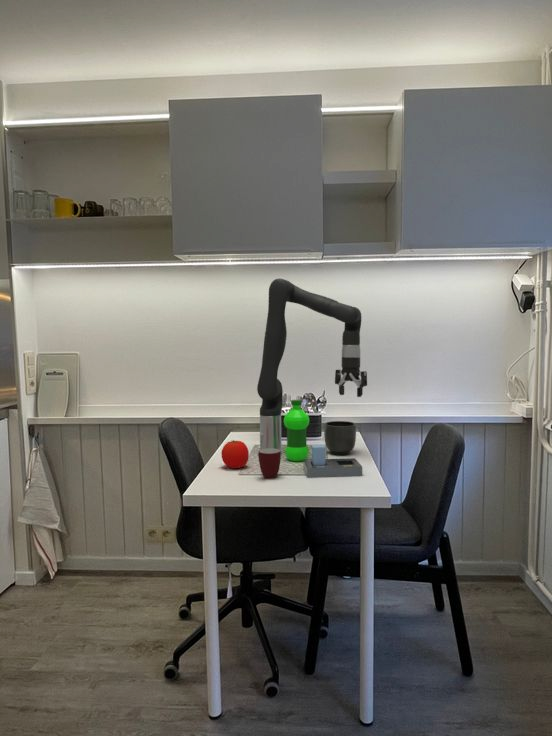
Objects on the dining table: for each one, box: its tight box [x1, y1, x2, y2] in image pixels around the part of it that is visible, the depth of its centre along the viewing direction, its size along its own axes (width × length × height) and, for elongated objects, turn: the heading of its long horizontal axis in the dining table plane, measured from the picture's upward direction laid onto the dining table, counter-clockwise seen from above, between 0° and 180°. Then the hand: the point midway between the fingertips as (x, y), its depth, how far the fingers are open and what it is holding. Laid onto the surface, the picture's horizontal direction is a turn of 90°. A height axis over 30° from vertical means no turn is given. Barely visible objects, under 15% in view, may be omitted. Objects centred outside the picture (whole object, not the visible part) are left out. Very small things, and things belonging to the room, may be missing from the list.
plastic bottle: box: [283, 399, 310, 462], centre depth 203 cm, size 10×10×25 cm
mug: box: [258, 448, 282, 480], centre depth 181 cm, size 10×8×10 cm
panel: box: [302, 457, 363, 479], centre depth 185 cm, size 20×12×4 cm, turn 94°
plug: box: [311, 444, 327, 466], centre depth 184 cm, size 4×4×10 cm
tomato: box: [220, 439, 249, 469], centre depth 195 cm, size 10×11×11 cm
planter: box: [323, 420, 357, 456], centre depth 216 cm, size 14×14×13 cm
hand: (350, 395), depth 203 cm, fingers open, 8 cm apart
